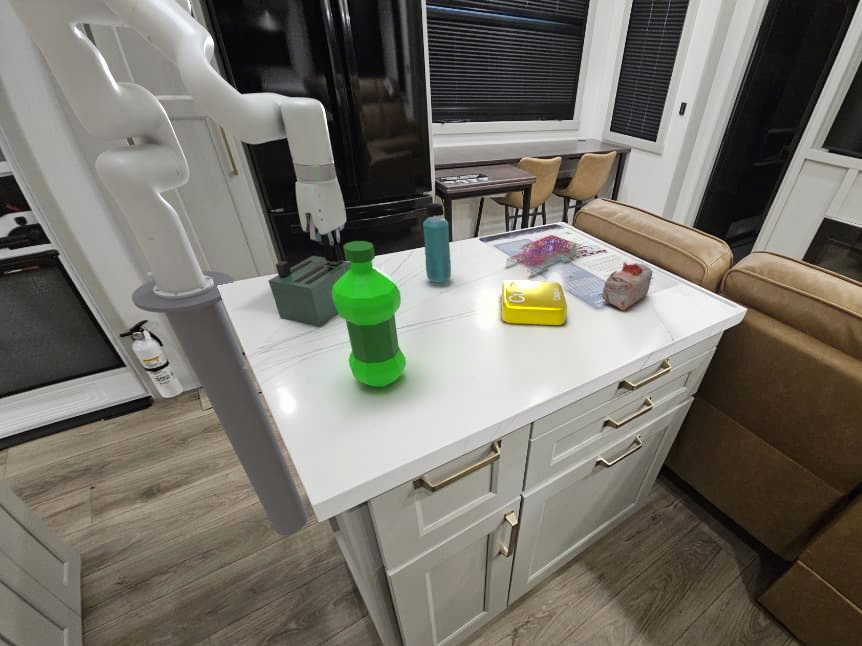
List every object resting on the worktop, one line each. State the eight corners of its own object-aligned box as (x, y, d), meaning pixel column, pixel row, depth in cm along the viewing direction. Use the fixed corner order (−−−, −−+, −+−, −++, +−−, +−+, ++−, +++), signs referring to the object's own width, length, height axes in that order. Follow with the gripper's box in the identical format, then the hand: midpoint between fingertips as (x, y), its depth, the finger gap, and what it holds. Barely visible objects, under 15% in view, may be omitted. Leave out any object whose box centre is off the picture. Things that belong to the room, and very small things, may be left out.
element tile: (565, 326, 97) (568, 308, 94) (501, 323, 96) (502, 304, 93) (558, 297, 109) (561, 280, 106) (501, 294, 108) (502, 277, 105)
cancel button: (328, 270, 96) (326, 261, 94) (334, 266, 97) (332, 257, 96) (337, 272, 95) (335, 263, 94) (343, 268, 97) (341, 259, 96)
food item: (625, 314, 104) (634, 277, 98) (597, 303, 108) (605, 267, 102) (649, 297, 112) (659, 262, 106) (622, 288, 116) (631, 253, 110)
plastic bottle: (399, 357, 83) (383, 231, 68) (415, 388, 76) (401, 254, 60) (346, 369, 79) (317, 237, 64) (359, 402, 72) (328, 263, 56)
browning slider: (278, 275, 88) (275, 264, 87) (285, 272, 90) (281, 260, 88) (285, 276, 88) (282, 265, 86) (291, 273, 89) (288, 262, 88)
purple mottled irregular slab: (533, 281, 116) (534, 263, 113) (492, 265, 123) (493, 247, 120) (589, 254, 135) (592, 238, 132) (551, 242, 142) (553, 226, 139)
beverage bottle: (455, 285, 111) (453, 206, 99) (432, 289, 108) (427, 209, 96) (445, 275, 115) (442, 199, 103) (422, 279, 112) (416, 201, 100)
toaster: (280, 318, 92) (267, 280, 86) (321, 290, 104) (312, 255, 98) (320, 326, 90) (310, 287, 85) (357, 297, 102) (350, 261, 96)
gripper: (321, 163, 90) (338, 247, 101) (273, 177, 79) (298, 269, 90) (352, 167, 89) (366, 251, 100) (309, 182, 77) (329, 275, 89)
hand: (334, 260), depth 95 cm, fingers closed
